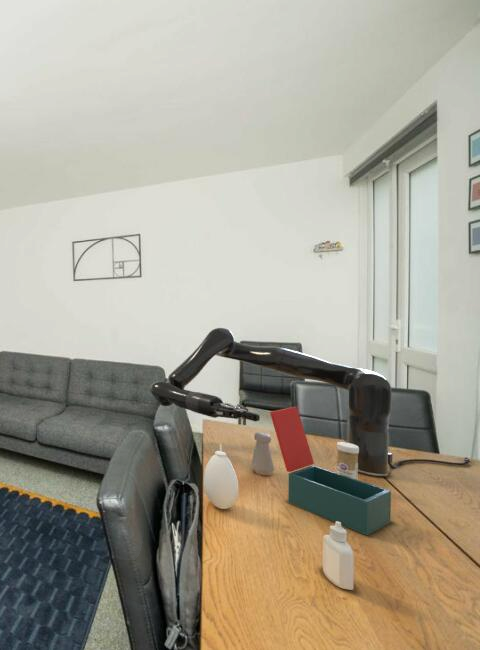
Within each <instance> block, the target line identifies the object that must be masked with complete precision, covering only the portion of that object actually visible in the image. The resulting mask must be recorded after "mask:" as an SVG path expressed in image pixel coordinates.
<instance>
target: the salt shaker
mask: <svg viewBox="0 0 480 650" xmlns="http://www.w3.org/2000/svg"><path fill="white" fill-rule="evenodd" d="M254 440H255V445H254V450H253V455H252V458H251V466H252V468H253V470H254V472H255V473H256V474H259V475H261V476H270V475H271V474H272V473H273V472H274V470H275V465H274V461H273V456H272V451H271V447H270V446H271V445H270V443H271V442H272V436H271V435H270V434H268V433H266V432H255V433H254Z"/></svg>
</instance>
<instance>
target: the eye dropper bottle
mask: <svg viewBox="0 0 480 650" xmlns="http://www.w3.org/2000/svg"><path fill="white" fill-rule="evenodd" d="M342 526H343V525H341V523H340V522H338V521H336V522H334V525H330V526H329V534H325V535H323V539H322V571H323V574H324V576H325V577H326V578H327V579H328V580H329V581H330V582H331V583H332V584H334V585H335V586H336V587H338V588H340V589H342V590H348V591H353V590H354V589H355V588H354V586H355V585H354V583H355V579H354V578H355V555H354V551H353V549H352V547H351V546H350V544H349V543H348V542H347V541H348V531H347V530H346V528H343V527H342Z"/></svg>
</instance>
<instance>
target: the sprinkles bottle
mask: <svg viewBox="0 0 480 650" xmlns="http://www.w3.org/2000/svg"><path fill="white" fill-rule="evenodd" d="M336 451H337V455H336V473H338V474H341V475H344V476H347V477H350V478H353V479H356V480H359V472H358V453H359V447H358V446H357V445H354V444H351V443H347V441H346V442H345V441H338V442H336Z"/></svg>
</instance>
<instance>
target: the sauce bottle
mask: <svg viewBox="0 0 480 650" xmlns="http://www.w3.org/2000/svg"><path fill="white" fill-rule="evenodd" d="M203 488H204V492H205V495H206V496H207V498H208V500H209V502H210V503H212V505H213V506H214V507H216V508H217V509H220V510H226V509H229V508H232V507H233V506H234V505H235V503H236V502H237V500H238V497H239V481H238V476H237V473H236V470H235V468H234V466H233V464H232V462H231V460H230V459H229V458H228V456H227V453H226V452H224V451H223V445H222V442H220V443H219V450H216V451H214V454H213V455H212V456H211V457H210V458H209V460H208V462H207V464H206V466H205V469H204V473H203Z"/></svg>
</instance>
